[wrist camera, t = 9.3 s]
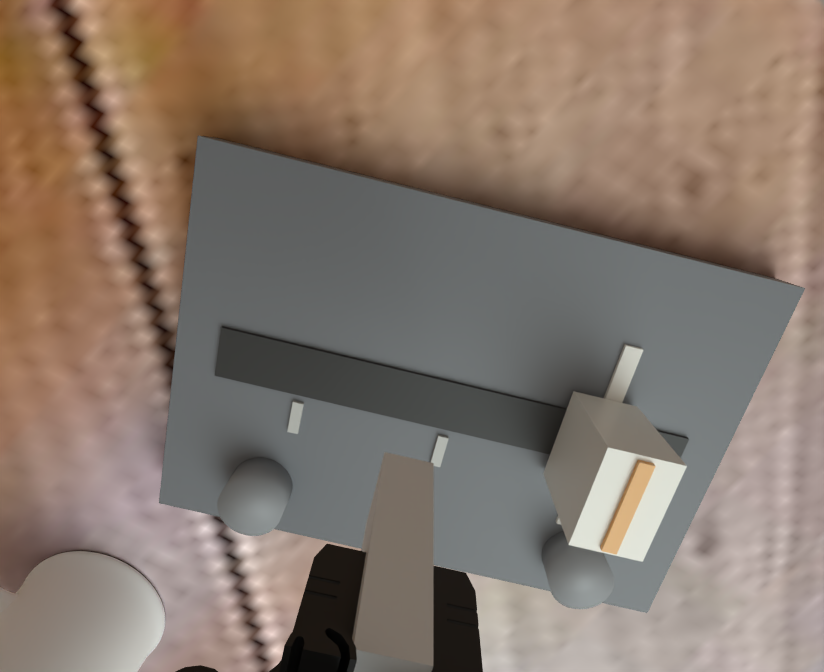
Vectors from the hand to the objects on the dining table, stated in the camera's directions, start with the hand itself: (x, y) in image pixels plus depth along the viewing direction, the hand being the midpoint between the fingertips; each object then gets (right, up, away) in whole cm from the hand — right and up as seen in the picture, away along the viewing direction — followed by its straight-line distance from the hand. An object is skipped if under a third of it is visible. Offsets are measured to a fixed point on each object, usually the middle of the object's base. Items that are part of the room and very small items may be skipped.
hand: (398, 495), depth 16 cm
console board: (+2, +2, +11) cm, 11 cm away
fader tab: (+9, 0, +9) cm, 12 cm away
